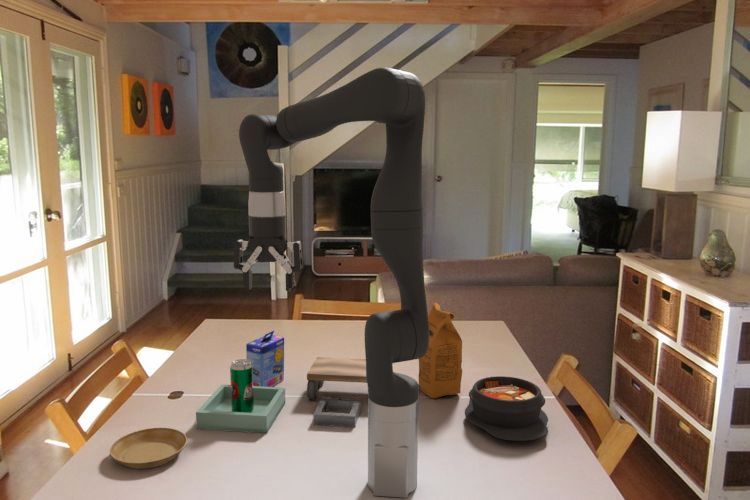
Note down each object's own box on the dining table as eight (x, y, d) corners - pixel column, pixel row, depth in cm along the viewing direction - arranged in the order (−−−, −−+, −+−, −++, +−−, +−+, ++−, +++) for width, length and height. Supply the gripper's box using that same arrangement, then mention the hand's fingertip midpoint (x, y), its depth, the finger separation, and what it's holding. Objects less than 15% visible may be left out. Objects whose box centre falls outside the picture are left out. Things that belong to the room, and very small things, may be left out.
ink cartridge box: (262, 393, 158) (261, 338, 156) (245, 389, 161) (243, 334, 158) (285, 380, 167) (284, 327, 165) (269, 376, 170) (267, 324, 167)
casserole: (453, 401, 154) (453, 369, 152) (526, 398, 156) (527, 366, 154) (480, 451, 129) (481, 413, 128) (566, 447, 131) (569, 409, 130)
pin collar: (355, 427, 140) (355, 416, 139) (313, 424, 141) (313, 414, 140) (360, 409, 149) (360, 399, 149) (321, 407, 150) (321, 397, 150)
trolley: (379, 406, 151) (379, 379, 149) (306, 402, 153) (305, 375, 151) (385, 383, 165) (385, 358, 163) (318, 380, 167) (317, 355, 165)
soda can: (248, 417, 142) (247, 366, 140) (228, 415, 143) (226, 365, 141) (257, 407, 147) (255, 359, 145) (237, 405, 148) (235, 357, 146)
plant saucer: (200, 456, 127) (200, 444, 127) (128, 483, 117) (127, 470, 117) (168, 432, 138) (167, 421, 137) (99, 454, 128) (98, 443, 127)
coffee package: (449, 379, 168) (451, 300, 164) (465, 397, 156) (467, 312, 152) (413, 382, 166) (414, 301, 162) (426, 401, 154) (428, 314, 150)
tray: (266, 433, 137) (266, 416, 136) (196, 429, 138) (195, 412, 138) (285, 403, 152) (285, 387, 152) (222, 399, 154) (221, 384, 153)
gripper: (227, 214, 126) (230, 292, 129) (296, 215, 125) (298, 295, 128) (239, 210, 134) (242, 284, 136) (304, 211, 132) (306, 286, 135)
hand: (269, 289), depth 132 cm, fingers open, 8 cm apart
